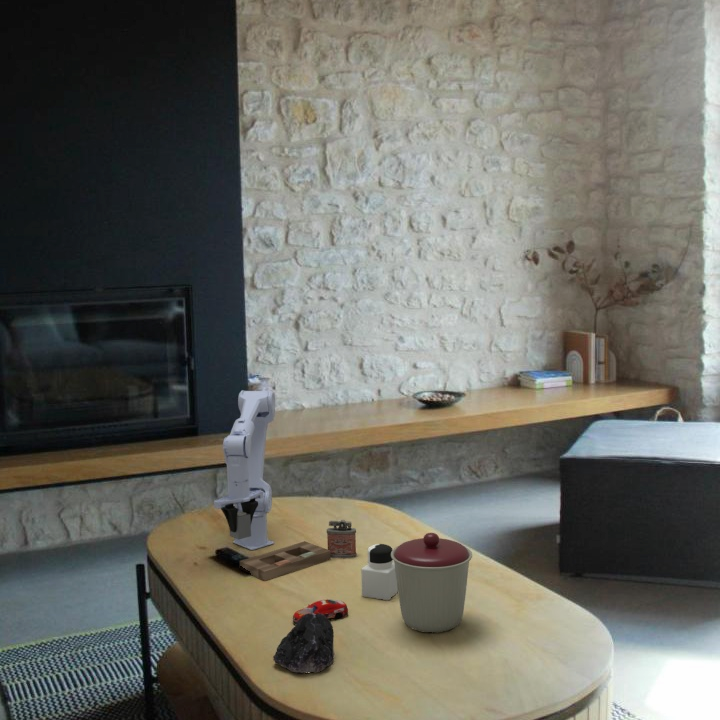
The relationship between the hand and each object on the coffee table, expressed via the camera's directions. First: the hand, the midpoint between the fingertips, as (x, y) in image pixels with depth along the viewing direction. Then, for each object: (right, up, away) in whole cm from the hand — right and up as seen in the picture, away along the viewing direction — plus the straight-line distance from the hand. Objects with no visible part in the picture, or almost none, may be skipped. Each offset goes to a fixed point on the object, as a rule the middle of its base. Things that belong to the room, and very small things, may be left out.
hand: (240, 529), depth 253 cm
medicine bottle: (+37, -12, -22) cm, 45 cm away
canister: (+48, -14, -40) cm, 64 cm away
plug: (0, -2, 0) cm, 2 cm away
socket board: (+12, -9, -1) cm, 15 cm away
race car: (+23, -15, -36) cm, 45 cm away
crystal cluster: (+21, -17, -57) cm, 63 cm away
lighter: (+27, -8, +5) cm, 29 cm away
